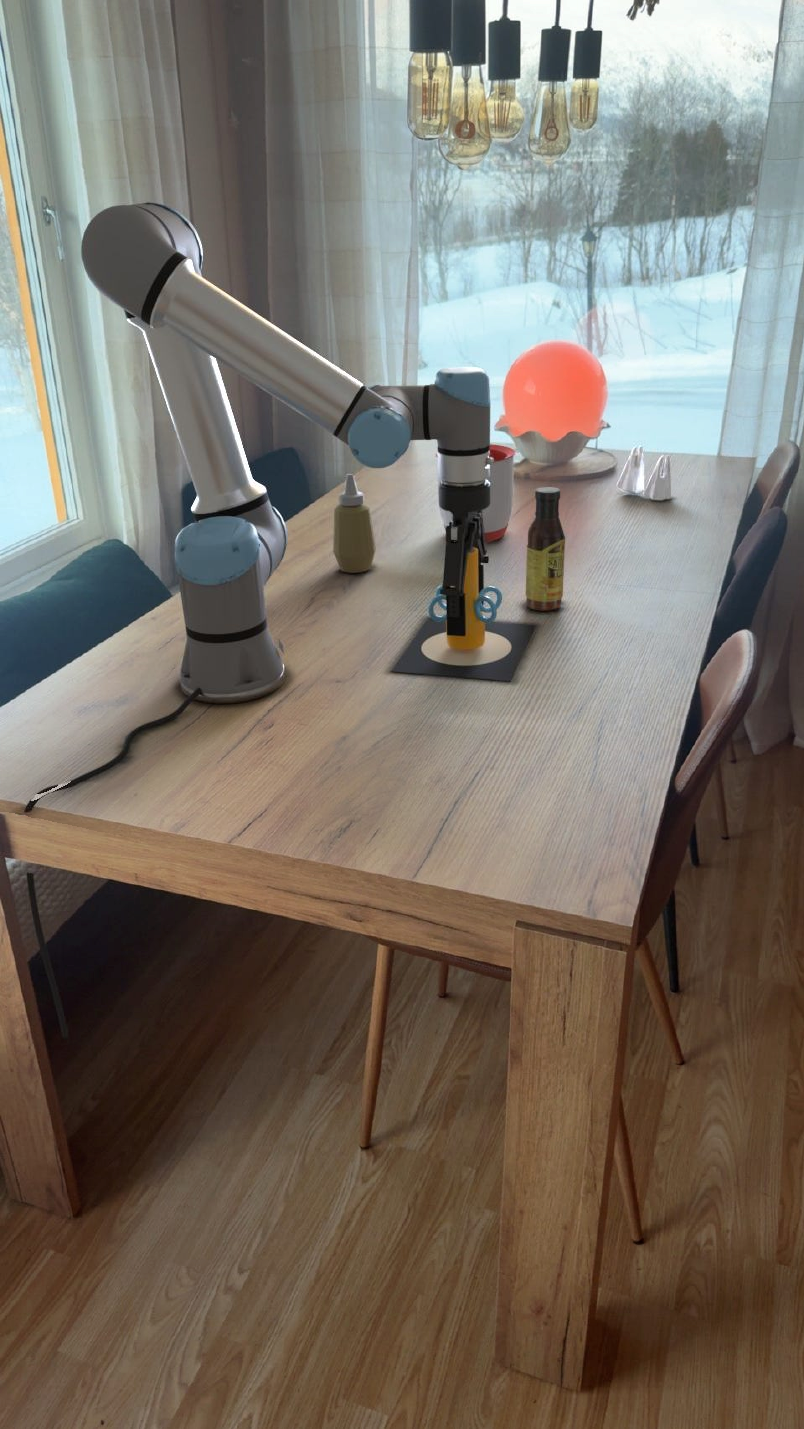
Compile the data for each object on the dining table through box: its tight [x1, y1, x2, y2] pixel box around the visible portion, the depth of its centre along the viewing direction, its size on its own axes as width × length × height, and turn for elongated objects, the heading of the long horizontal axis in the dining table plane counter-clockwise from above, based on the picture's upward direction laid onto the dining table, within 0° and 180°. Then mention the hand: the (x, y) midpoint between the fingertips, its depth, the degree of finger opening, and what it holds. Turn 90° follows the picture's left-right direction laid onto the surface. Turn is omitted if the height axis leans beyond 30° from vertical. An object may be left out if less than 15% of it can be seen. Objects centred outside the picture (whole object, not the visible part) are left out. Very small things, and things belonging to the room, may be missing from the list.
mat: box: [390, 617, 536, 683], centre depth 164 cm, size 22×18×1 cm
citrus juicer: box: [435, 443, 516, 544], centre depth 210 cm, size 16×17×20 cm
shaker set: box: [616, 445, 672, 501], centre depth 234 cm, size 12×4×11 cm, turn 50°
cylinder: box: [427, 547, 503, 650], centre depth 161 cm, size 12×10×15 cm
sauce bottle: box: [525, 486, 566, 612], centre depth 175 cm, size 6×6×20 cm
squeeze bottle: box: [332, 473, 377, 574], centre depth 196 cm, size 8×8×18 cm
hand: (466, 619), depth 162 cm, fingers closed on cylinder, 12 cm apart
